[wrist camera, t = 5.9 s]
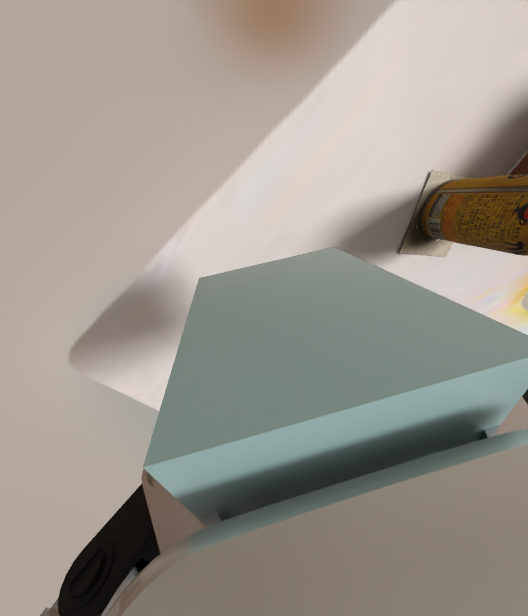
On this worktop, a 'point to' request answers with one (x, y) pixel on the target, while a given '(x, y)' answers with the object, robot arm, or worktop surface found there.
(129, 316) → the worktop surface
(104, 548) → the robot arm
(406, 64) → the worktop surface
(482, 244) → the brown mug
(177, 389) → the mint green cube
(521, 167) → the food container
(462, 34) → the worktop surface
